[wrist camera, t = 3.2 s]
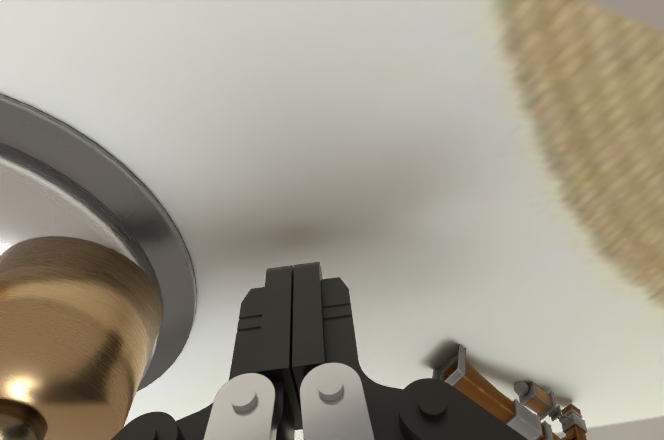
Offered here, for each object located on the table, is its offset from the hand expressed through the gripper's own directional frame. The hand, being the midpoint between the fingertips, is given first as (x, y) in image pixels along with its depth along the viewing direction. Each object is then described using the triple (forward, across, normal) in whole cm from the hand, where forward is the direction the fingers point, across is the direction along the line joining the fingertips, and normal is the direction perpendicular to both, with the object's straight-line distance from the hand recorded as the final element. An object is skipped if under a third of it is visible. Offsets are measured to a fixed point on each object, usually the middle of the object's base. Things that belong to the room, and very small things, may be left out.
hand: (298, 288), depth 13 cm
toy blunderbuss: (+3, -8, +9) cm, 12 cm away
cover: (+1, +7, 0) cm, 7 cm away
